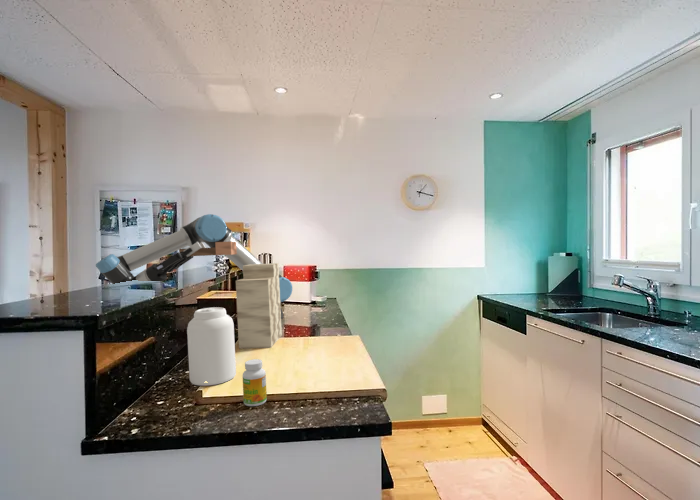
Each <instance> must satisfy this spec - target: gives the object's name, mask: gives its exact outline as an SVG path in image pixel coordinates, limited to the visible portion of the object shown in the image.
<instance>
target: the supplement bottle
mask: <svg viewBox="0 0 700 500" xmlns="http://www.w3.org/2000/svg"><path fill="white" fill-rule="evenodd" d="M266 374H267V372H266V370H265V369H264V368H263V361H262V359H257V358H256V359H255V358H254V359H249V360H247V361H245V362H244V371H243V372H242V392H243V393H242V397H243V404H244V405H245V406H247V407H257V406H261V405H264V404H265V403H266V402H267V396H268V395H267V394H268V393H267V377H266Z"/></svg>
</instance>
